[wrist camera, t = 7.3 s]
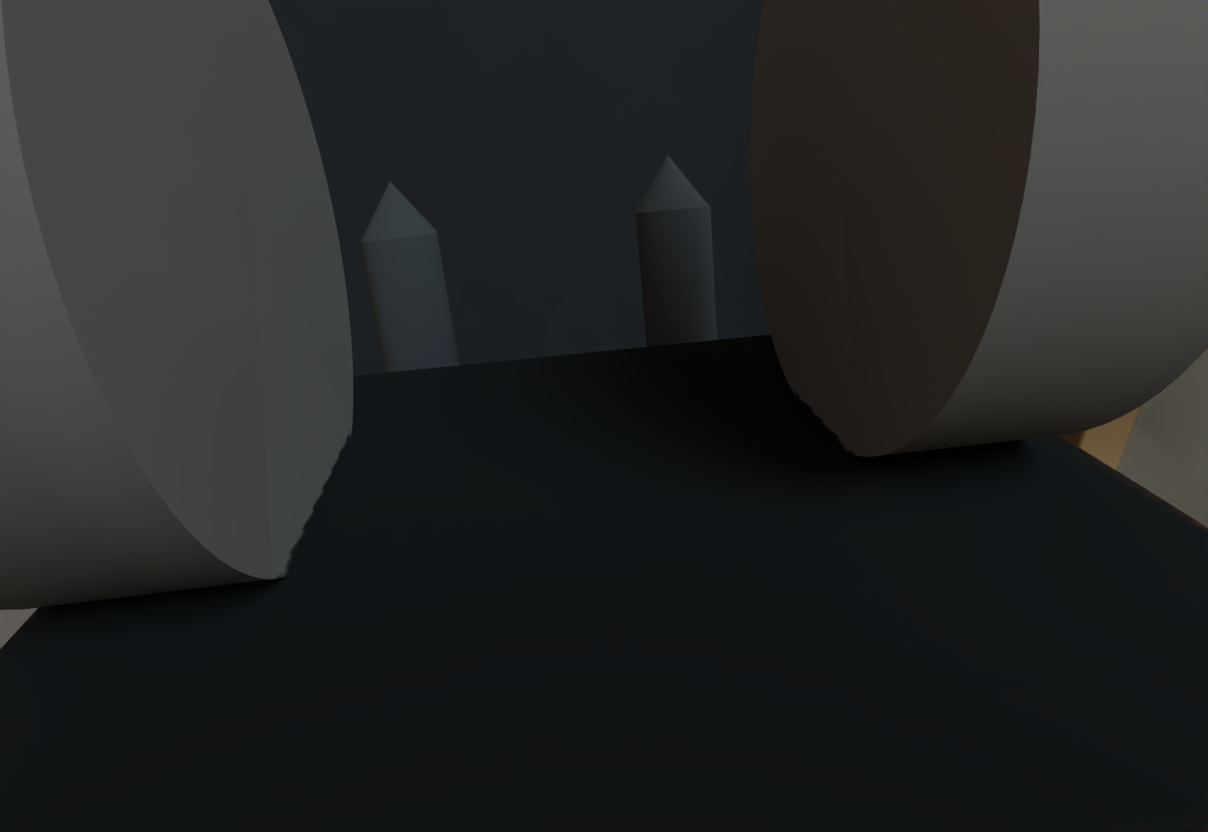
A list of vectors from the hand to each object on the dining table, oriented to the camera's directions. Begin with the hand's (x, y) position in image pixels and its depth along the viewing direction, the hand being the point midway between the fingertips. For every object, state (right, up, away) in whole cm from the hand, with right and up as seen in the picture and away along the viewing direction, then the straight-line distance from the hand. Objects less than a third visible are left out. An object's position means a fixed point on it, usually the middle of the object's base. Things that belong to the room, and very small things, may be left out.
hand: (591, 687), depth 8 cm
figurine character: (0, +1, +1) cm, 2 cm away
